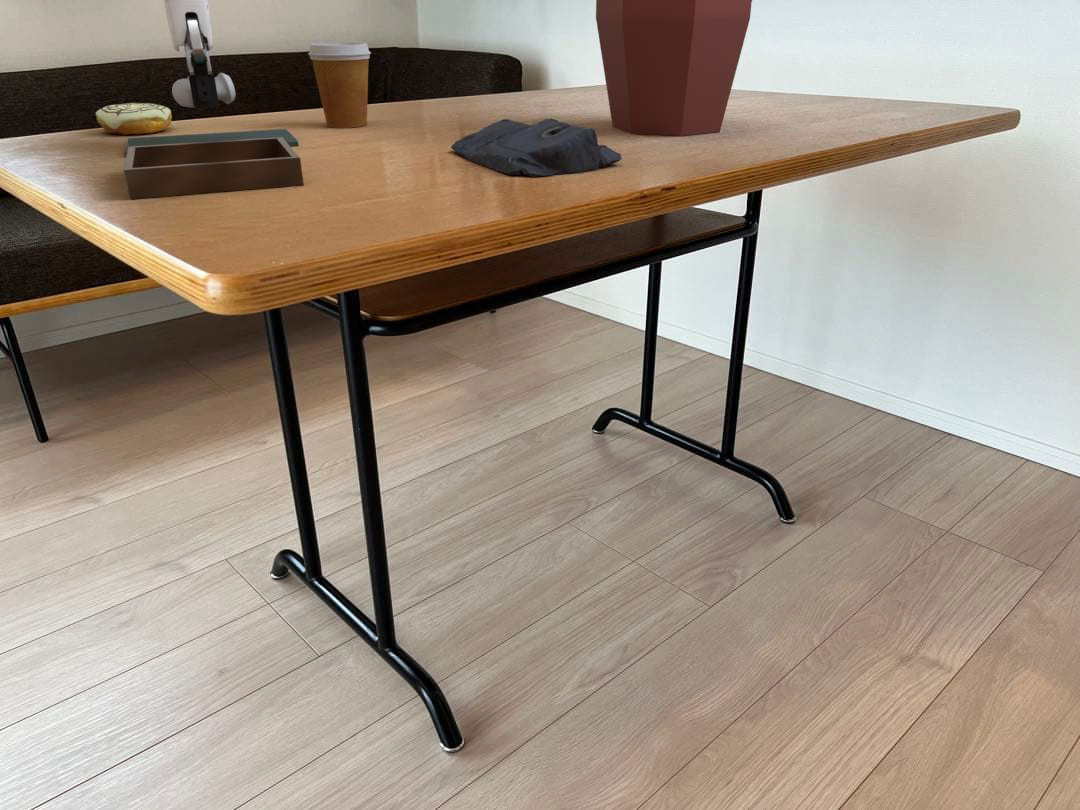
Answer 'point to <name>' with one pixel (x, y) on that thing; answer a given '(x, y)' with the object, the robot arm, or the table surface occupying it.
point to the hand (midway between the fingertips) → (205, 103)
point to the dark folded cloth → (536, 148)
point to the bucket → (670, 62)
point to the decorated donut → (134, 118)
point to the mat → (212, 138)
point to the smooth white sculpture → (223, 86)
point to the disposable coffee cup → (342, 81)
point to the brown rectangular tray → (211, 167)
